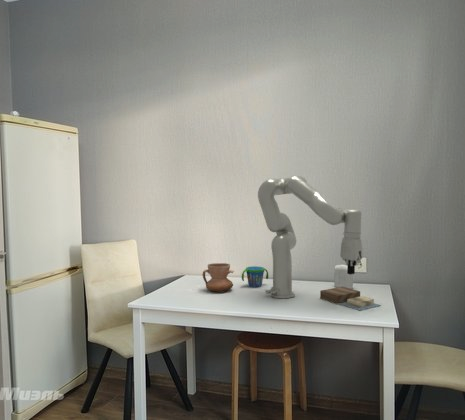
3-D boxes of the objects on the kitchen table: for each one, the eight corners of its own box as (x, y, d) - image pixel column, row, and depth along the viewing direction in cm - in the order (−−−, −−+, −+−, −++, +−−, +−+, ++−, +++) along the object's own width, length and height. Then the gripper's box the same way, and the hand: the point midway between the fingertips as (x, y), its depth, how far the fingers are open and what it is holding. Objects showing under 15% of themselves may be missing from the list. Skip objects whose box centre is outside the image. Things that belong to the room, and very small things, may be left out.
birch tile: (347, 299, 203) (347, 304, 203) (358, 302, 197) (358, 307, 197) (362, 296, 208) (362, 300, 208) (373, 299, 202) (373, 304, 202)
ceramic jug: (238, 288, 238) (238, 262, 237) (229, 294, 224) (228, 267, 224) (208, 286, 244) (208, 261, 244) (197, 292, 231) (196, 266, 230)
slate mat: (359, 310, 194) (359, 309, 194) (338, 304, 205) (338, 303, 205) (380, 305, 201) (380, 305, 201) (359, 299, 212) (359, 298, 212)
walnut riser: (337, 304, 205) (337, 295, 204) (320, 298, 215) (320, 290, 215) (360, 299, 212) (360, 291, 212) (342, 294, 223) (342, 286, 222)
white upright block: (354, 287, 235) (354, 265, 235) (351, 289, 232) (351, 266, 231) (336, 285, 242) (336, 263, 241) (333, 286, 238) (333, 264, 237)
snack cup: (265, 282, 250) (265, 265, 249) (271, 287, 240) (271, 268, 239) (239, 284, 246) (239, 267, 246) (244, 289, 236) (244, 270, 236)
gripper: (335, 234, 209) (333, 271, 211) (358, 238, 196) (357, 277, 198) (346, 233, 213) (345, 270, 215) (370, 237, 200) (368, 276, 202)
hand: (350, 273), depth 206 cm, fingers closed
